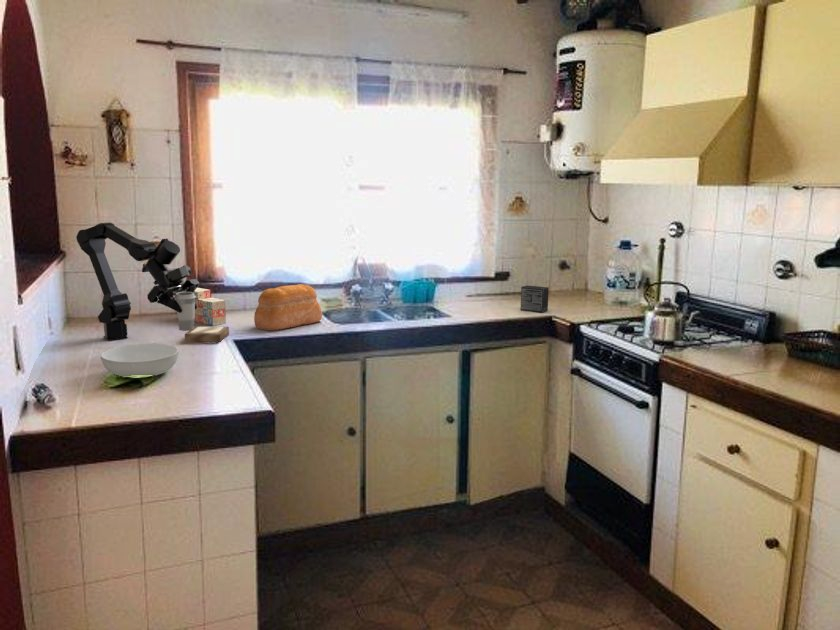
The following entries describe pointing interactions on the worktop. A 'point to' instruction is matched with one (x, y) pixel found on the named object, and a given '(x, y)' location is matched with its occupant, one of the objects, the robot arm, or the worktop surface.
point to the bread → (287, 307)
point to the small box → (534, 298)
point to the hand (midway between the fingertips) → (188, 310)
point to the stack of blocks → (209, 308)
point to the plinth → (206, 334)
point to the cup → (186, 310)
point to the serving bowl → (140, 359)
